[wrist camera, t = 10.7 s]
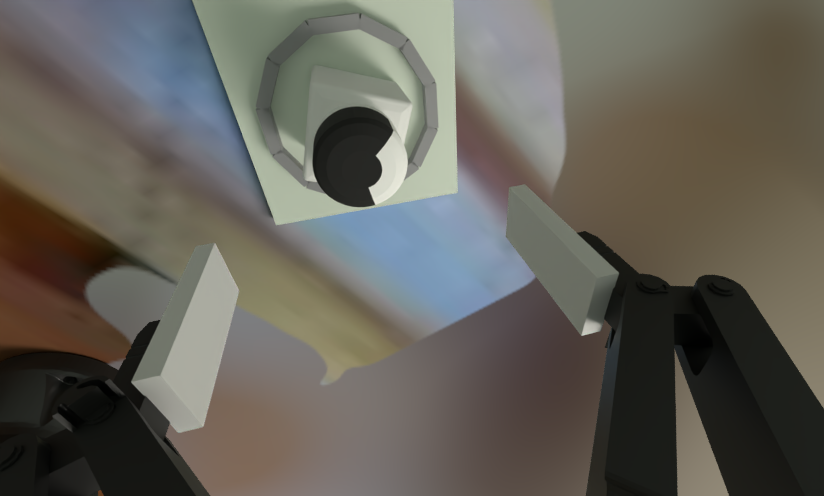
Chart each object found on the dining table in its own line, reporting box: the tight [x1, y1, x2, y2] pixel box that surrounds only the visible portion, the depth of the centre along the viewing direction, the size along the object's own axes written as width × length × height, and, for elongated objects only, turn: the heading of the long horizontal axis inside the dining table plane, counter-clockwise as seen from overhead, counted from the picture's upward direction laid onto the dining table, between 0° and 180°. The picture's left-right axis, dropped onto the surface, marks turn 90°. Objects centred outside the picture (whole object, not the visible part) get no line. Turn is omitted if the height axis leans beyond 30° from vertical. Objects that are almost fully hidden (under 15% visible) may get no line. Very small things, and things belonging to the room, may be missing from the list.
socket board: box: [192, 0, 458, 225], centre depth 32 cm, size 19×19×2 cm
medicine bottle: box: [303, 65, 412, 207], centre depth 28 cm, size 7×7×12 cm
